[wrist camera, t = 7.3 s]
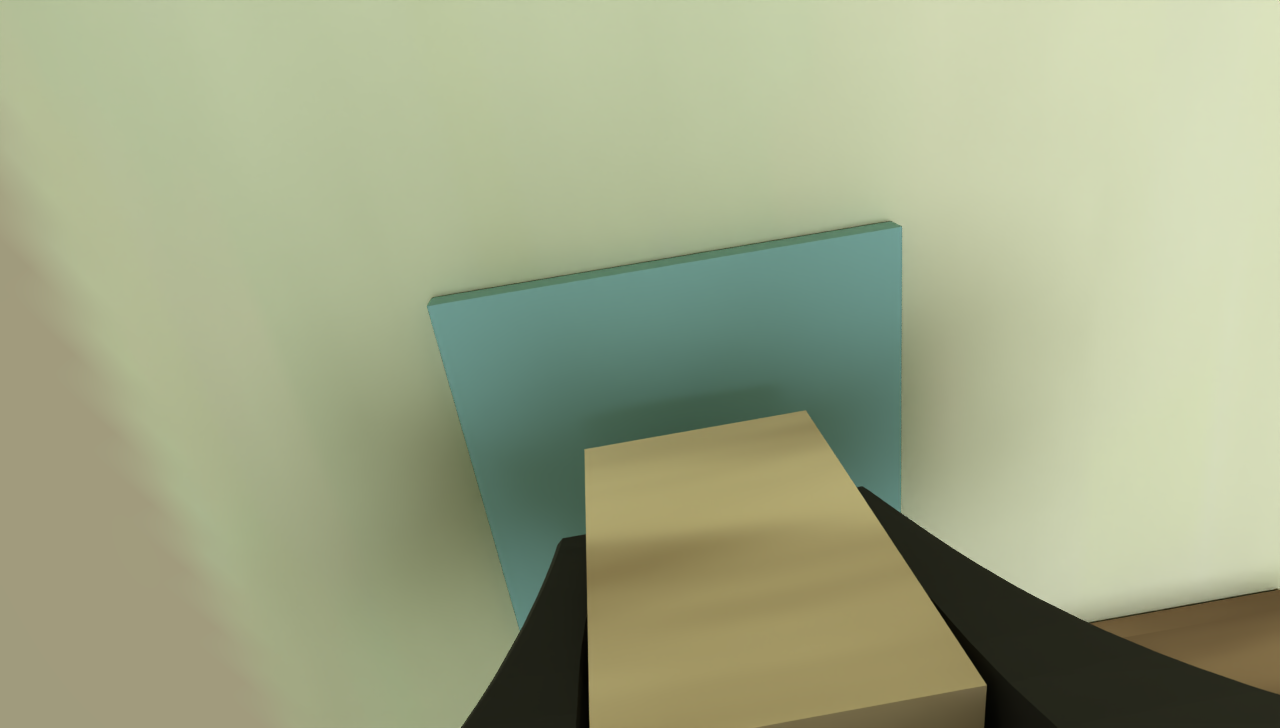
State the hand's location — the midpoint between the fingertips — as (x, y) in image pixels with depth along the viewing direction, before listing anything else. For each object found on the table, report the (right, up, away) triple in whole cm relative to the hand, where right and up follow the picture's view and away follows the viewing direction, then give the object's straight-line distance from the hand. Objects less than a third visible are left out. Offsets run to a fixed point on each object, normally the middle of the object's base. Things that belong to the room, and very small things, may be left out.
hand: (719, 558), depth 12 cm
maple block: (0, 0, +1) cm, 1 cm away
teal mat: (0, +1, +3) cm, 3 cm away
